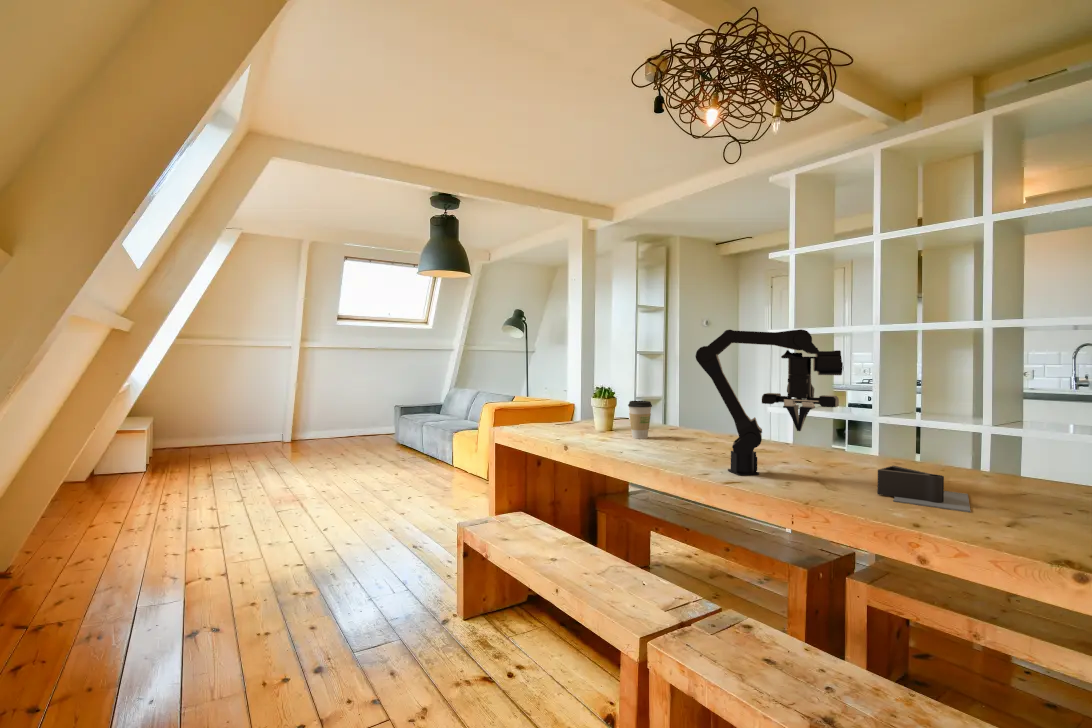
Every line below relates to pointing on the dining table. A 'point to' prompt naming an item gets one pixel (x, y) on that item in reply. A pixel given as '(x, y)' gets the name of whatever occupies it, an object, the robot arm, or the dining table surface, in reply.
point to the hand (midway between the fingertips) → (798, 430)
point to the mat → (950, 502)
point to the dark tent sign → (910, 484)
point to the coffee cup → (640, 418)
